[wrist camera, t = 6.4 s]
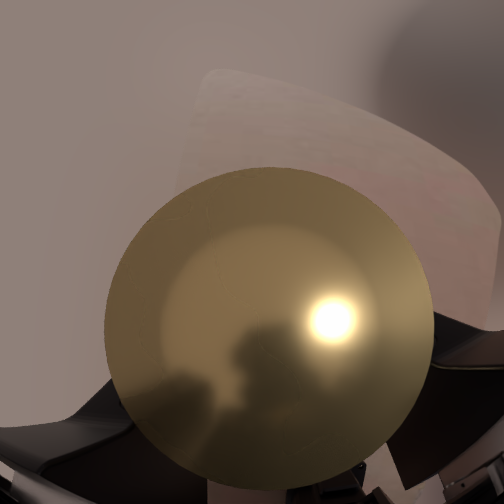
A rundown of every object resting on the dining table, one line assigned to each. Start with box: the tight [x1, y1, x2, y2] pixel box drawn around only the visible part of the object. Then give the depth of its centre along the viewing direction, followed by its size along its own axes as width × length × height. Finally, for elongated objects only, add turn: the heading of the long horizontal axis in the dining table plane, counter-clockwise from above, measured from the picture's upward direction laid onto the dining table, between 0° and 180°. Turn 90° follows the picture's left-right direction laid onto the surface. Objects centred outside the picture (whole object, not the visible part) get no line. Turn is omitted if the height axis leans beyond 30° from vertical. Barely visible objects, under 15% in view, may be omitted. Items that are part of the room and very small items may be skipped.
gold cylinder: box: [104, 167, 434, 490], centre depth 9 cm, size 4×4×12 cm
